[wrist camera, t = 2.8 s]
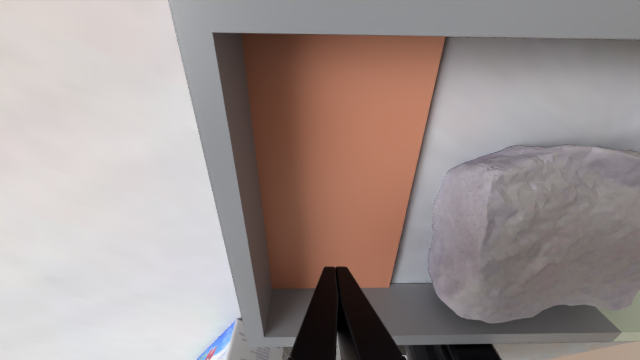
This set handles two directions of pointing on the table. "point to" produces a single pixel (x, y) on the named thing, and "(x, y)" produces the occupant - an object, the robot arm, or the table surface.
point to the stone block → (537, 232)
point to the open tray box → (351, 149)
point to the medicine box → (239, 347)
